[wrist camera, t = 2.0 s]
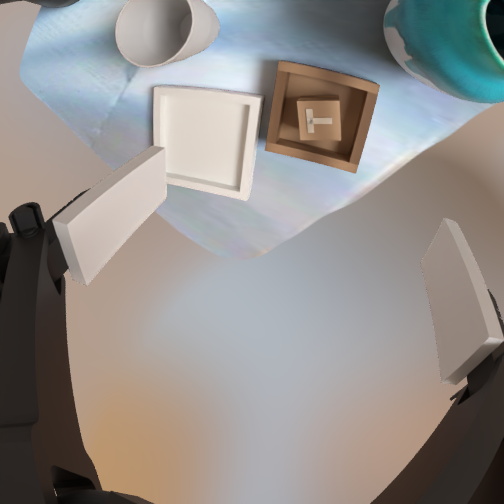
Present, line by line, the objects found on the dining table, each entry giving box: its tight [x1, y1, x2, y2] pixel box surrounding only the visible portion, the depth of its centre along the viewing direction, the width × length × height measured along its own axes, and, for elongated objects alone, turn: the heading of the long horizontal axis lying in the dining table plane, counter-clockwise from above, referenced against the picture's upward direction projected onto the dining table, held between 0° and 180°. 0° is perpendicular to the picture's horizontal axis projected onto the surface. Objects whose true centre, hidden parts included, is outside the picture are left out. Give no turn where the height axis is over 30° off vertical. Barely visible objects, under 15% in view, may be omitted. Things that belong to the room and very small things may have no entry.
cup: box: [115, 0, 220, 68], centre depth 22 cm, size 8×8×10 cm
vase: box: [383, 0, 504, 104], centre depth 13 cm, size 11×11×19 cm
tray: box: [153, 85, 264, 201], centre depth 34 cm, size 13×13×2 cm
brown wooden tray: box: [265, 61, 380, 174], centre depth 28 cm, size 10×10×3 cm
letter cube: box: [297, 95, 341, 141], centre depth 27 cm, size 4×4×4 cm
